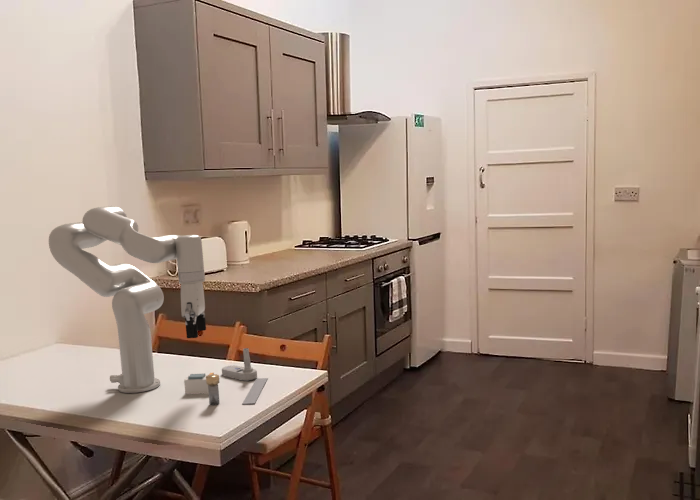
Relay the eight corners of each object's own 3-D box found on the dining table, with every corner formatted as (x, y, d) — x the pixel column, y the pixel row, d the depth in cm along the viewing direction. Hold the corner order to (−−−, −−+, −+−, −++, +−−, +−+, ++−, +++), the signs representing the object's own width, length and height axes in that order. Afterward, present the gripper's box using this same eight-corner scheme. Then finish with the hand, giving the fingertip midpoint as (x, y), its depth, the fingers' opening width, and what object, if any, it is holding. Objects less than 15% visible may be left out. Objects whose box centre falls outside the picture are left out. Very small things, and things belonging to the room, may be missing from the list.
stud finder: (185, 394, 206) (184, 377, 206) (189, 389, 211) (188, 373, 210) (211, 393, 206) (210, 376, 205) (215, 388, 210) (214, 372, 210)
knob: (206, 406, 194) (204, 378, 193) (209, 402, 198) (207, 374, 197) (219, 405, 194) (217, 377, 193) (222, 401, 197) (220, 374, 197)
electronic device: (229, 343, 228) (257, 347, 218) (232, 372, 229) (260, 378, 219) (216, 346, 225) (244, 351, 214) (219, 376, 226) (247, 382, 215)
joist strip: (242, 404, 193) (242, 403, 193) (256, 379, 217) (256, 378, 217) (254, 404, 193) (254, 403, 193) (267, 378, 217) (267, 378, 217)
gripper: (186, 273, 214) (191, 328, 215) (170, 282, 196) (176, 341, 198) (211, 272, 213) (215, 327, 215) (196, 280, 196) (202, 340, 198)
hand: (196, 334), depth 207 cm, fingers open, 9 cm apart
